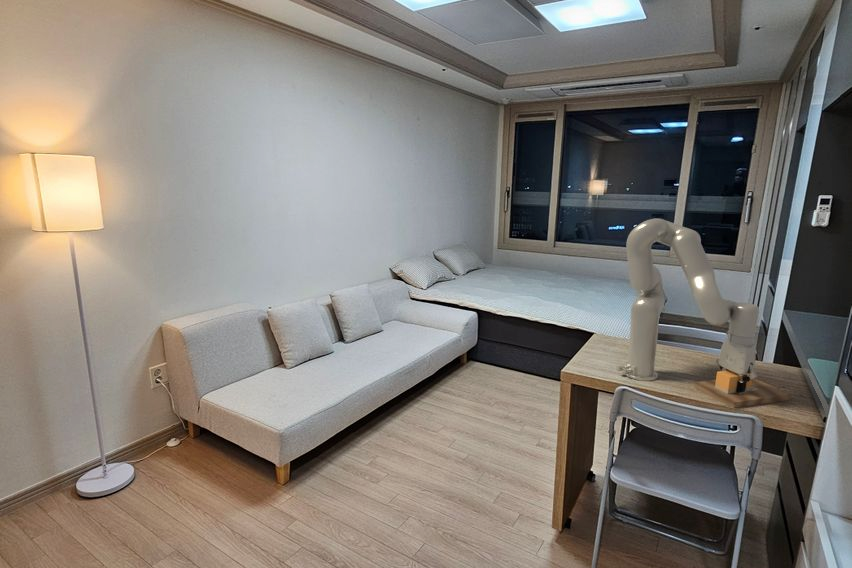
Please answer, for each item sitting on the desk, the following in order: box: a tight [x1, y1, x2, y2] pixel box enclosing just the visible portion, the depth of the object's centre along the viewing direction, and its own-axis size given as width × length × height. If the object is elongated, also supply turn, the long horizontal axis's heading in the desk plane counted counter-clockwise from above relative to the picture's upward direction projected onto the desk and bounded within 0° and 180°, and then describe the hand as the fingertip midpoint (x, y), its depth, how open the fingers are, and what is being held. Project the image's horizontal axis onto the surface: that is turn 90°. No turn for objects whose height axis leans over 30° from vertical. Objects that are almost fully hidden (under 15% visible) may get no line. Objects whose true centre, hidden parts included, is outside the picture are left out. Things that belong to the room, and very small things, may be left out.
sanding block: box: [715, 370, 752, 394], centre depth 154 cm, size 10×5×6 cm, turn 105°
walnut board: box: [693, 378, 793, 409], centre depth 156 cm, size 24×16×2 cm, turn 104°
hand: (732, 387), depth 155 cm, fingers closed on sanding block, 5 cm apart
